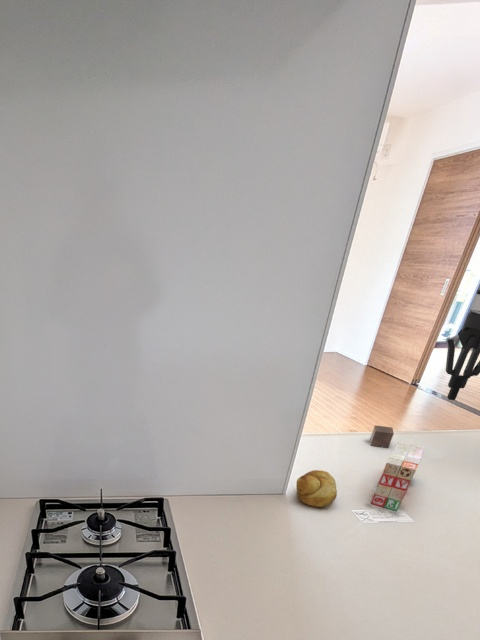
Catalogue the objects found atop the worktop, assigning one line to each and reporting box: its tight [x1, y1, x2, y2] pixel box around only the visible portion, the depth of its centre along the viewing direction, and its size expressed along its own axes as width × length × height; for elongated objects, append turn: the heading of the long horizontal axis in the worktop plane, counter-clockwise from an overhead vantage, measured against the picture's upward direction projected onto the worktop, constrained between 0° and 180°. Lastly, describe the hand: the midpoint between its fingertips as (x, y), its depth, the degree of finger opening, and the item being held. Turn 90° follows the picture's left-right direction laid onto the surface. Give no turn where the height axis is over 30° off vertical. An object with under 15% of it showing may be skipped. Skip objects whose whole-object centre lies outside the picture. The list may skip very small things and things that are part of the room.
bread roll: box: [295, 469, 338, 508], centre depth 114 cm, size 13×10×8 cm
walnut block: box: [369, 425, 394, 449], centre depth 139 cm, size 5×5×5 cm
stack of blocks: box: [370, 442, 425, 512], centre depth 114 cm, size 21×6×12 cm, turn 141°
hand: (451, 398), depth 128 cm, fingers closed
